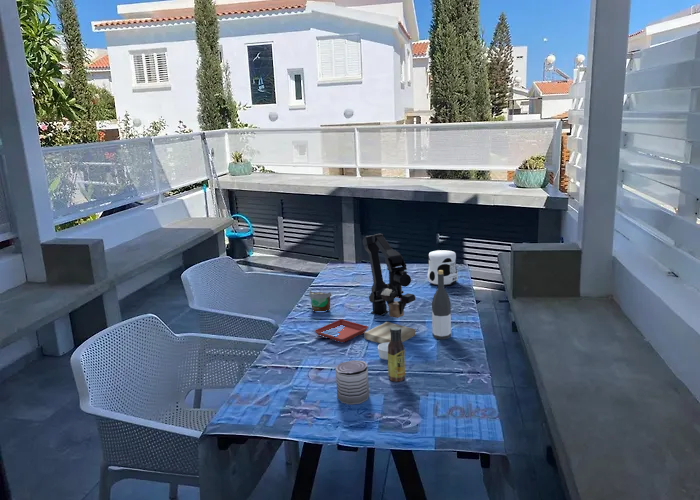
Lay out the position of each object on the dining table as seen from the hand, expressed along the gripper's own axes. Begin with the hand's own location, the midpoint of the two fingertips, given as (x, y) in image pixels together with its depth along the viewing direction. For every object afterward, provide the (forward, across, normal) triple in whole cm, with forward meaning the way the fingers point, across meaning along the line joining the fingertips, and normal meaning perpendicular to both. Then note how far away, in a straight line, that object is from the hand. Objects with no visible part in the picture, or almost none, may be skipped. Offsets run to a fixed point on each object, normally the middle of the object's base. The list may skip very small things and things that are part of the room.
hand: (396, 313), depth 257 cm
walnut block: (+1, 0, 0) cm, 1 cm away
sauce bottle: (+6, +34, -44) cm, 56 cm away
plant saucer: (+6, -13, -24) cm, 28 cm away
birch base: (+6, +7, -14) cm, 17 cm away
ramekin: (+6, +19, -30) cm, 36 cm away
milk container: (+6, -18, +67) cm, 70 cm away
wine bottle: (+6, +25, 0) cm, 26 cm away
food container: (+6, -44, -8) cm, 45 cm away
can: (+6, +30, -64) cm, 71 cm away
